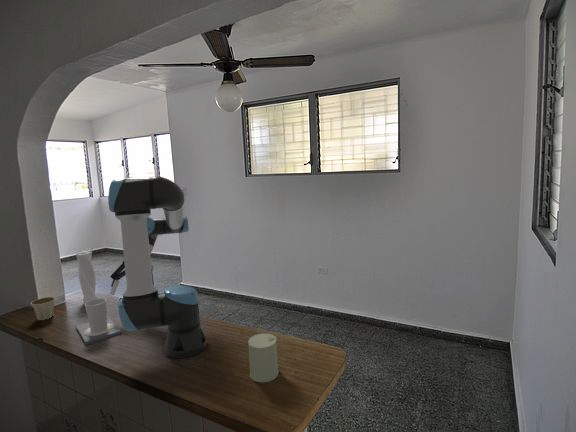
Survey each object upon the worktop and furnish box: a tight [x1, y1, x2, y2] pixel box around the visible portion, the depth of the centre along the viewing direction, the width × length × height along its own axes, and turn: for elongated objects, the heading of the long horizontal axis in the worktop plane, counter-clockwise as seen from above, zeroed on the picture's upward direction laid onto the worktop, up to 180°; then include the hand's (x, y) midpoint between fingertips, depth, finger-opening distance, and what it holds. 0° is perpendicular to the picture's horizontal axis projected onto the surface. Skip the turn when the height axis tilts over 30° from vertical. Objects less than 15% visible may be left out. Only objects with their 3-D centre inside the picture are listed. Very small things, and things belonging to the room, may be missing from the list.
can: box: [247, 333, 280, 383], centre depth 110 cm, size 9×9×12 cm
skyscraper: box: [75, 247, 98, 303], centre depth 181 cm, size 8×8×28 cm
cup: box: [84, 298, 108, 333], centre depth 144 cm, size 8×8×12 cm
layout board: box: [75, 315, 122, 346], centre depth 146 cm, size 20×13×1 cm, turn 41°
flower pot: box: [30, 296, 56, 321], centre depth 162 cm, size 9×9×9 cm
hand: (125, 297), depth 155 cm, fingers open, 13 cm apart
